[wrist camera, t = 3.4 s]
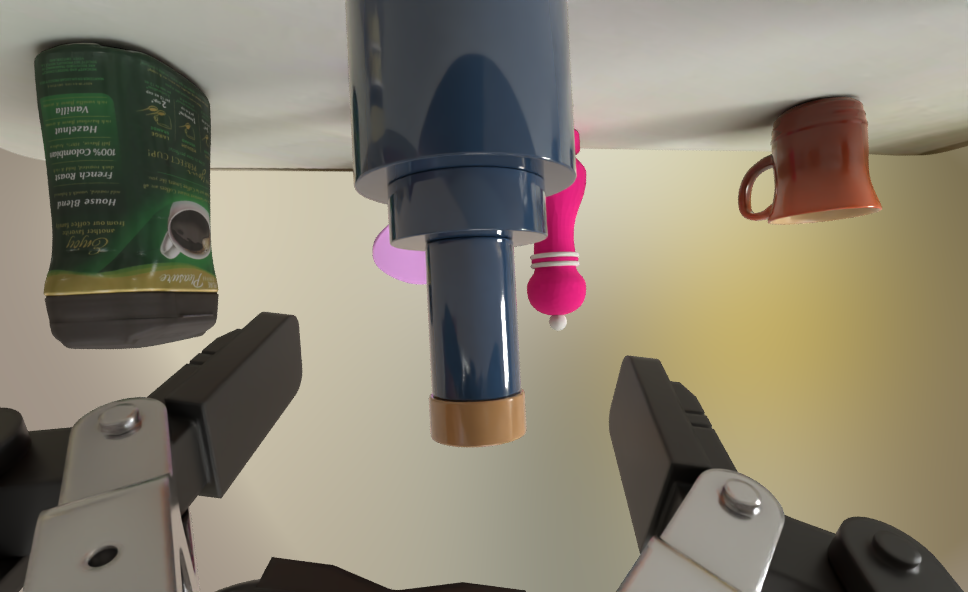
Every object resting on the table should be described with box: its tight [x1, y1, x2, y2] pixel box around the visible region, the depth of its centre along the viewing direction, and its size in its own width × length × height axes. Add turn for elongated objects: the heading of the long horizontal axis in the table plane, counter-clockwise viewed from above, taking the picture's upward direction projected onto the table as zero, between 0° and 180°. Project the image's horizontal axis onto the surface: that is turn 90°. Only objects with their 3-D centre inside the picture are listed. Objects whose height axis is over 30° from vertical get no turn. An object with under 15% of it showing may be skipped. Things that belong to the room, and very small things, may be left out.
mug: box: [738, 97, 882, 225], centre depth 46 cm, size 12×9×10 cm
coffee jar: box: [34, 43, 218, 349], centre depth 32 cm, size 10×8×19 cm
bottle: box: [345, 0, 577, 447], centre depth 14 cm, size 6×6×20 cm
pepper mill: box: [527, 129, 586, 330], centre depth 49 cm, size 7×7×20 cm
